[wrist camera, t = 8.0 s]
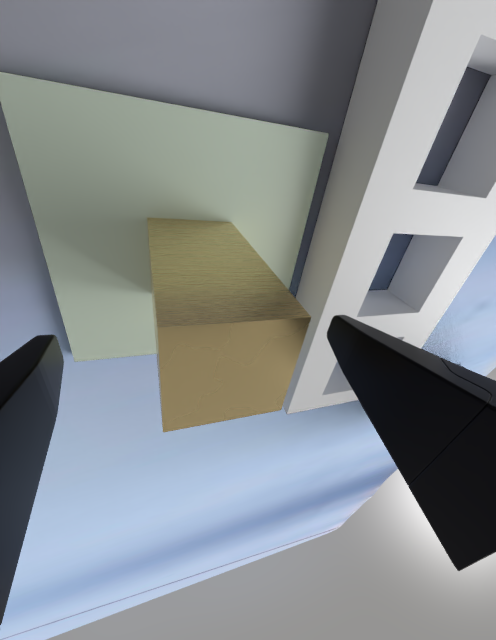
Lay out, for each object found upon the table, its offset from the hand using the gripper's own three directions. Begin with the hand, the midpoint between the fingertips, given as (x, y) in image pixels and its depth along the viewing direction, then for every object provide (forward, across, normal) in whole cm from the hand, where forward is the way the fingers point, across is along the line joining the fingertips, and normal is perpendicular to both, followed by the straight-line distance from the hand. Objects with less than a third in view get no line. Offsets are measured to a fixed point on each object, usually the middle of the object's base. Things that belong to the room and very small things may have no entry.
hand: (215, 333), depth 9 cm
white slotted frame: (+7, -12, 0) cm, 14 cm away
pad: (+7, 0, 0) cm, 7 cm away
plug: (+6, 0, 0) cm, 6 cm away
